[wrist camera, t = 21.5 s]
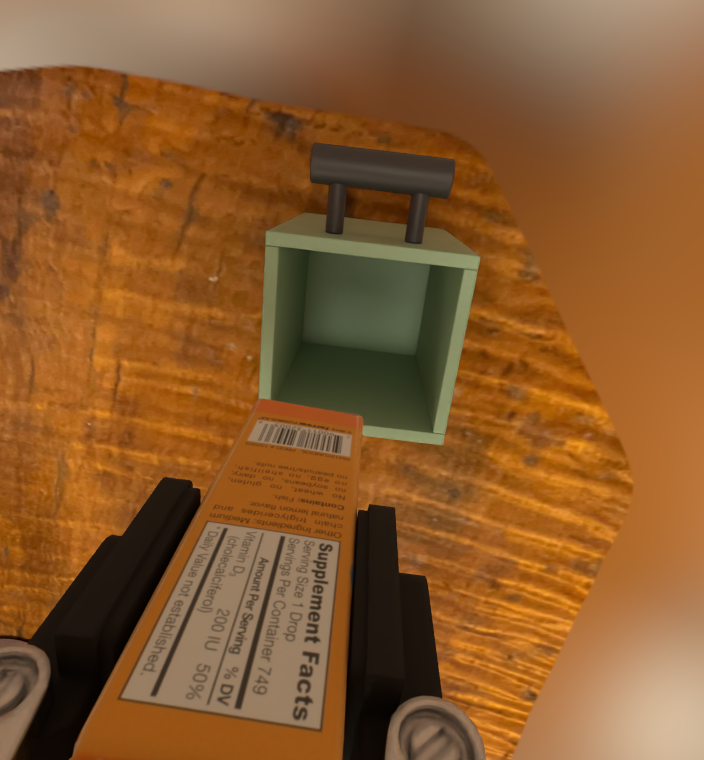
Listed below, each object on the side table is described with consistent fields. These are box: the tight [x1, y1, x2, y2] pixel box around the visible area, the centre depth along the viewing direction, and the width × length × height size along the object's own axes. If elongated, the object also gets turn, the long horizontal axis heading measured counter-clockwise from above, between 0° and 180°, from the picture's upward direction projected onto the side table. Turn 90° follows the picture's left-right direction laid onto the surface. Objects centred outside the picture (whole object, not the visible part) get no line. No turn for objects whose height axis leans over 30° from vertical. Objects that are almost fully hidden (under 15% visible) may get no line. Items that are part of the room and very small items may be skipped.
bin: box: [258, 143, 480, 445], centre depth 28 cm, size 12×9×13 cm
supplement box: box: [69, 398, 363, 760], centre depth 11 cm, size 3×3×10 cm
